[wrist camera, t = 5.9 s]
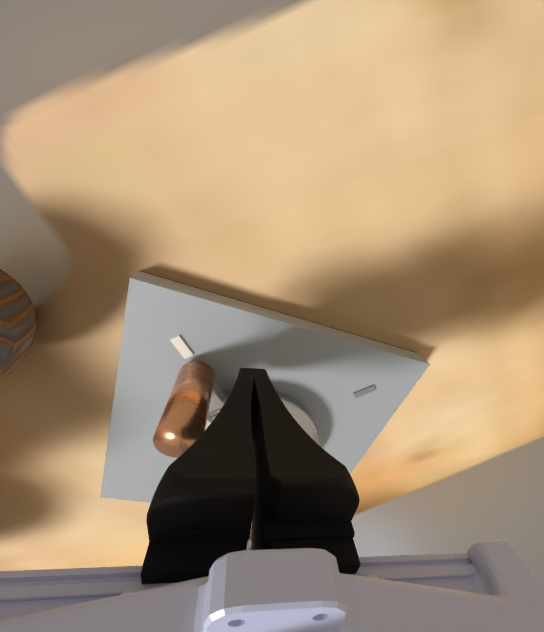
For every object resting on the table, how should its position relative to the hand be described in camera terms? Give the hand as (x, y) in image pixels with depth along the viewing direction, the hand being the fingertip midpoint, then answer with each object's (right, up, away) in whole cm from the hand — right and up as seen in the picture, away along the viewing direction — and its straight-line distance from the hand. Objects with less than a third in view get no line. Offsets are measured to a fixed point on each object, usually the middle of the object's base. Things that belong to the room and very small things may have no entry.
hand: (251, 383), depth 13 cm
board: (0, -4, +5) cm, 7 cm away
